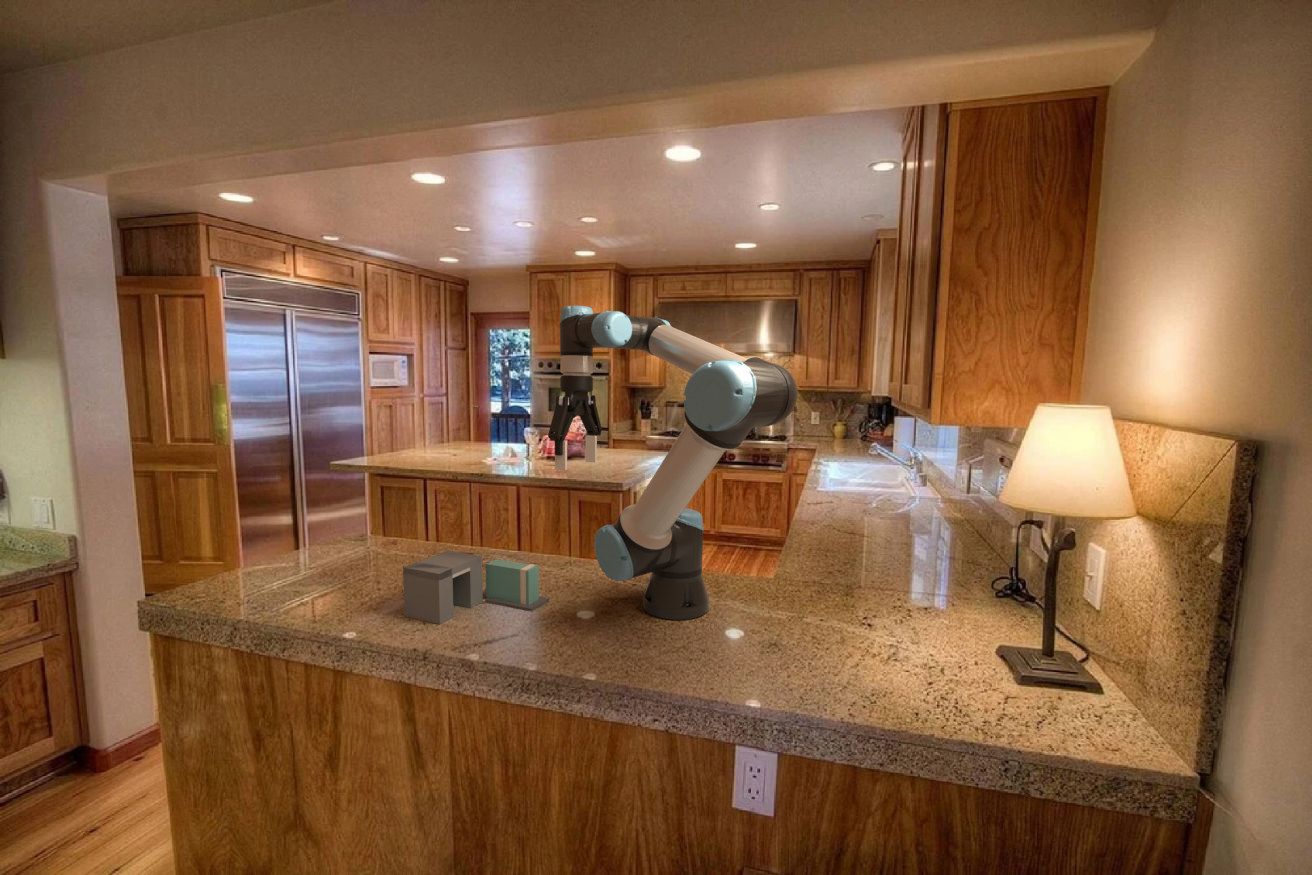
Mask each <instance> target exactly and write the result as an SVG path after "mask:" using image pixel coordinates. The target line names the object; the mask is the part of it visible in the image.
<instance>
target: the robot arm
mask: <svg viewBox="0 0 1312 875" xmlns="http://www.w3.org/2000/svg"><path fill="white" fill-rule="evenodd" d="M558 326H559V350H560V351H559V353H560V361H559V363H560V364H559V365H560V367H559V368H560V371H559V372H560V373H561V374H562V375H561V376H560V379H559V380H560V381H559V383H560V384H559V385H560V386H559V387H560V388H559V390H560V391H561V392H563V393H564V395H557V396H556V397H555V408H554V411H553V414H552V415H553V416H552V419H551V421H550V426H549V430H548V434H547V437H548V439H549V440H550V441H553V442H554V470H557V471H558V470H559V471H567V470H568V440H566V437H567V435H568V432H569V430H570V428H571V426H572V423H573V421H574V419H575V418H576V417H577V416H578V417H579V418H580V420H581V422H582V425H583V427H584V429H585V431H586V433H587V435H585V463H594V464H595V463H597V458H598V457H597V452H598V451H597V448H598V447H597V446H598V445H597V444H598V443H597V439H598V438H597V437H599V436H601V435H602V431H603V428H602V423H601V419H600V415H599V413H598V408H597V403H596V401H597V400H596V395H594V394H593V395H592V394H591V395H590V394H589V393H592V392H593V391H594V377H593V376H592V374H593V373H594V353H593V352H594V349H599V348H600V349H603V348H604V349H605V348H607V349H620V350H621V349H623V350H635V351H636V350H637V351H642V352H646V353H648V354H650V355H652V356H655V357H656V358H658V359H661V360H662V361H664V362H666V363H668V364H671V365H673V366H675V367H677V368H678V369H681V370H682V371H685V372H686V373H688V374H690V375H691V376H690V377H689V379H688V380H687V382H686V385H685V388H684V393H683V396H684V397H685V399H684V400H683V408H684V412H683V420H684V422H685V425H684V427H683V428H682V430H681V432H680V433H679V435H678V436H677V438H676V440H675V441H674V442H673V444H672V446H671V448H670V449H669V451H668V452H667V454H666V455H665V457H664V459H663V460H662V462H661V464H660V465H659V466H658V468H657V470H656V472H655V473H654V474H653V476H652V478H651V480H649V482H648V484H647V486H646V487H645V489H644V490H643V492H642V493H641V495H640V496H639V498H638V500H637V501H636V503H634V504H630V505H628V506H626V507H625V508H624V509H623V510H622V511H621V513H620V514H619V516H618V518H617V519H616V521H615V522H614V523H612V524H605V525H604V526H602V527H600V528H599V529H598V530H597V532H596V534H595V537H594V545H593V546H594V552H595V557H596V561H597V563H598V565H599V567H600V569H601V570H602V572H603V574H604V575H605V576H606V577H608V578H609V579H611V580H613V581H615V582H622V581H626V580H627V581H630V580H632V579H635V578H637V577H640V576H641V577H642V576H644V575H647V574H650V576H649V580H648V583H647V585H646V588H645V591H644V594H643V601H642V602H643V603H642V605H643V606H642V607H643V609H644V610H645V612H647V613H648V614H649V615H651V616H653V617H657V618H660V619H665V620H673V621H674V620H675V621H677V620H679V621H680V620H681V621H684V620H691V619H696V618H699V617H701V616H703V615H705V614H707V613H708V611H709V610H710V598H709V594H708V591H707V588H706V584H705V581H704V578H703V554H704V553H703V550H704V544H703V543H704V530H705V528H704V524H703V522H704V521H703V520H704V519H703V515H702V514H701V513H700V511H697V510H695V509H691V508H686V507H688V504H689V503H690V502H691V500H692V498H693V497H694V496H695V494H696V493H697V492H698V490H699V488H700V487H701V486H702V485H703V483H704V482H705V480H706V479H707V477H708V476H709V474H710V473H711V472H712V470H713V469H714V467H715V466H716V465H717V463H718V462H719V460H720V459H721V458H722V456H723V455H724V453H725V452H726V451H735V450H737V449H738V448H739V447H740V446H741V444H742V442H743V441H744V440H745V439H746V438H747V436H748V435H749V433H750V432H751V430H753V429H754V428H761V427H762V428H764V427H770V426H775V425H777V424H779V423H781V422H783V421H785V420H786V419H787V418H788V417H789V416H790V415H791V413H792V412H793V410H794V408H795V406H796V404H797V401H798V400H797V399H798V386H797V383H796V380H795V378H794V376H793V375H792V373H790V372H789V370H788V369H787V368H785V367H784V366H782V365H780V364H776V363H775V362H771V361H767V360H765V359H763V358H759V357H757V356H750V357H747V358H746V357H744V356H742V355H740V354H736V353H735V352H732V351H729V350H727V349H725V348H723V347H721V346H718V345H715V344H713V343H711V342H709V341H706V340H704V339H702V338H699V337H697V336H694V335H692V334H690V333H687V332H685V331H683V330H680V329H677V328H675V327H673V326H672V325H671V324H670V322H669V321H668V320H665V319H661V318H658V317H647V316H635V315H630V314H629V315H628V314H625V313H624V312H622V311H619V310H615V311H613V310H612V311H611V310H604V311H602V312H597V313H594V311H593V309H592V308H591V307H589V306H585V305H567V306H563V307H562V308H561V309H560V319H559V325H558Z"/></svg>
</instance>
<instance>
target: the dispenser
mask: <svg viewBox="0 0 1312 875" xmlns="http://www.w3.org/2000/svg"><path fill="white" fill-rule="evenodd" d="M466 553H467V552H459V551H453V550H446V551H443V552H441V553H438V554H435V555H432V556H429V557H427V558H425V559H421V560H419V561H416V562H414V563H411V564H409V565H405V566H403V567H402V574H403V575H402V576H403V577H402V578H403V580H402V581H403V605H404V606H403V607H404V608H403V609H404V613H403V614H404V617H405V618H411V619H416V620H420V621H424V622H427V623H432V624H436V625H441V624H443V623H446V622H447V621H450V620H451V619H453V618H454V606H459V607H463V608H464V607H465V608H467V609H472V608H474V607H476V606H478V605H480V604H482V603H484V601H483V600H484V598H483V597H484V596H483V590H484V589H483V556H482V555H477V554H474V555H472V554H473V553H470V554H466Z"/></svg>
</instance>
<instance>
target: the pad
mask: <svg viewBox="0 0 1312 875" xmlns="http://www.w3.org/2000/svg"><path fill="white" fill-rule="evenodd" d="M484 601H485V603H489V604H494V605H499V606H503V607H508V608H513V609H518V610H523V611H528V612H533V611H535V610H536V609H538V608H540V607H541V606H543V605H545V604H546V603H548V602H549V601H550V597H545V596H540V595H539V599H538V600H536V601H535V602H533V603H531V604H530V605H525V604H521V603H515V602H510V601H505V600H500V599H495V598H489V597H486V598H485V599H484Z"/></svg>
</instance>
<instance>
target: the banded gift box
mask: <svg viewBox="0 0 1312 875" xmlns="http://www.w3.org/2000/svg"><path fill="white" fill-rule="evenodd" d="M539 570H540V566H539V565H537V564H533V563H530V564H529V563H523V562H517V561H511V560H504V559H498V558H496V559H494V560H491V561H489V562H487V563H485V597H486V598H495V599H500V600H505V601H510V602H515V603H521V604H525V605H530V604H531V603H533V602H535V601H536V600H538V599H539V596H540V591H539V590H540V583H539V582H540V580H539V578H540V577H539V576H540V574H539V572H540V571H539Z"/></svg>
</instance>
